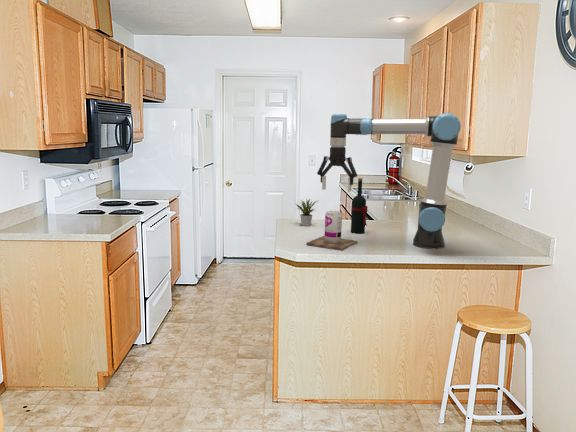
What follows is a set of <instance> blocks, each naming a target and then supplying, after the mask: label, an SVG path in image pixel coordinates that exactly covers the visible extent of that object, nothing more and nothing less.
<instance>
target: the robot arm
mask: <svg viewBox="0 0 576 432" xmlns="http://www.w3.org/2000/svg"><path fill="white" fill-rule="evenodd" d="M347 115H348V114H347V113H333V114H332V115H330V116H331V118H330V134H329V135H330V136H329V137H330V138H329V139H330V140H329V146H330V147H329V156H328V155H326V156H325V155H324V156H323V160H322V162H321V164H320V167H319V168H318V171H317V173H316V174H317V175H318V176H320V184H321V190H322V191H323V190H324V191H325V190H326V189H327V176H326V175H327V174H328V173H329V171H330V170H331V168H332V167H341V168H342V169H343V170H344V172H345V173H346V174H347V175H348V177H347V193H350V192H352V185H354V178H356V177H358V173H357V171H356V168H355V166H354V163H353V160H352V157H351V156H350V157H346V151H347V150H346V149H347V148H346V147H345V146H346V145H347V135H356V136H359V135H360V136H363V135H364V136H368V135H425V136H426V137H430V144H431V145H432V151H431V152H432V153H431V157H430V159H431V160H430V163H429V172H428V178H427V184H426V190H425V197H424V198H422V199H420V200H419V204H418V220H417V230H416V233H415V234H414V237H413V241H412V245H413V246H416V247H419V248H423V249H433V248H436V249H442V248H444V247H445V239H444V236H443V231H442V230H443V227H444V225H445V223H446V211H447V205H448V203H447V202H446V200H445V196H446V192H447V191H446V190H447V183H448V177H449V173H450V167H451V160H452V154H453V148H455V147H456V146H457V144H458V138H459V134H460V131H461V127H462V126H461V121H460V120H459V118H458V117H457V115H455V114H453V113H450V112H443V113H442V114H439V115H433V116H432V115H431V116H427V117H425V118H360V117H359V118H358V117H357V118H349V117H348V116H347ZM328 161H329V163H328ZM327 163H328V164H327ZM346 163H347V164H346ZM347 165H348V166H347Z"/></svg>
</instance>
